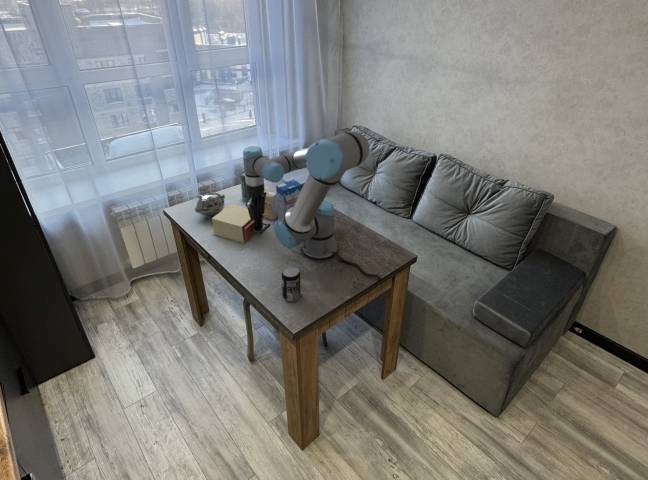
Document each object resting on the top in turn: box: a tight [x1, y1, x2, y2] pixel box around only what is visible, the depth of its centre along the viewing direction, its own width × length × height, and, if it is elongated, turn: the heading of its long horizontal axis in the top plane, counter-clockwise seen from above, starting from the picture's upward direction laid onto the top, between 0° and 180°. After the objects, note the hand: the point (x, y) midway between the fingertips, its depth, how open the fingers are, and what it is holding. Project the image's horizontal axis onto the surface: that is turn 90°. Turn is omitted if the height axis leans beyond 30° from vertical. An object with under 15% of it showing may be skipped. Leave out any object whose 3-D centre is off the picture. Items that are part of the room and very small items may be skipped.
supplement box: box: [262, 189, 278, 221], centre depth 191 cm, size 8×5×13 cm, turn 68°
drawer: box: [243, 217, 271, 242], centre depth 179 cm, size 20×13×7 cm, turn 68°
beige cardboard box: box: [211, 203, 251, 244], centre depth 180 cm, size 16×14×9 cm
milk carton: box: [275, 179, 303, 221], centre depth 186 cm, size 10×6×20 cm, turn 131°
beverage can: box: [281, 265, 302, 302], centre depth 144 cm, size 7×7×12 cm
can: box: [239, 171, 249, 203], centre depth 204 cm, size 6×6×15 cm
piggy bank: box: [194, 192, 226, 220], centre depth 190 cm, size 11×15×12 cm
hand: (258, 230), depth 177 cm, fingers closed
